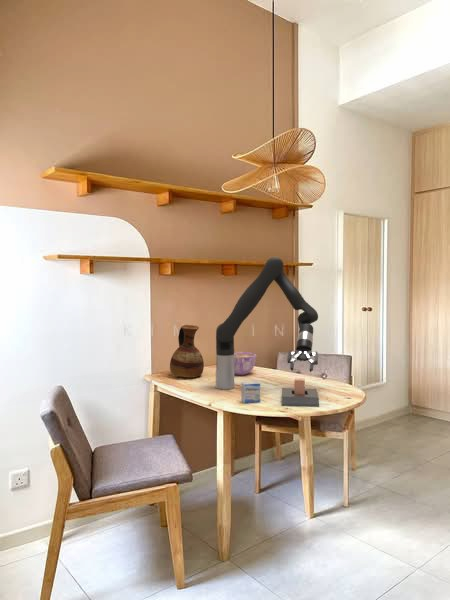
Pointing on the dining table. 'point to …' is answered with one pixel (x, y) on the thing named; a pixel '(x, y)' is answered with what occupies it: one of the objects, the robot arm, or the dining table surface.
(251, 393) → the medicine box
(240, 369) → the bowl of food
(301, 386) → the square peg
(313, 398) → the square hole block
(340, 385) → the dining table surface
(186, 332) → the ceramic pitcher
